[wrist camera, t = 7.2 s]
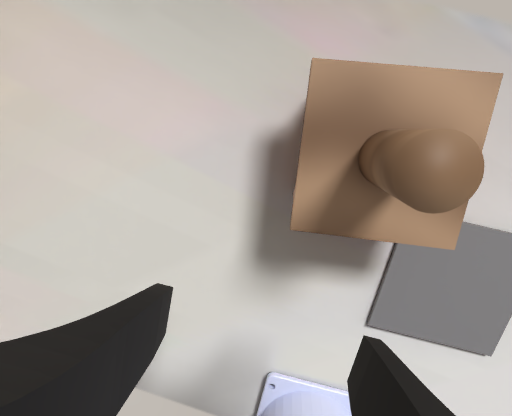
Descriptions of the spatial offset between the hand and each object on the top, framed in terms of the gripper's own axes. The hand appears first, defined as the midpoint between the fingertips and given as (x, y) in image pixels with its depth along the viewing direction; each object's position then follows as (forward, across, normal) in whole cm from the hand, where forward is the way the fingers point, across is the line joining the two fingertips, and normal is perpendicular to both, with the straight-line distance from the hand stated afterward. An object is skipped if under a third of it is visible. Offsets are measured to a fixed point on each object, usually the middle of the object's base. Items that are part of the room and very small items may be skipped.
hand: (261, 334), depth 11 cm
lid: (+6, -4, -7) cm, 10 cm away
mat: (+10, -12, 0) cm, 16 cm away
